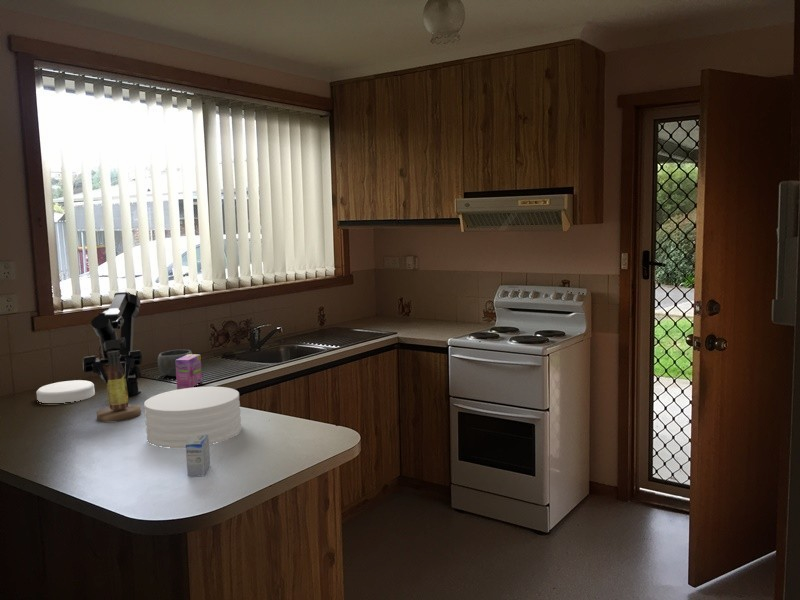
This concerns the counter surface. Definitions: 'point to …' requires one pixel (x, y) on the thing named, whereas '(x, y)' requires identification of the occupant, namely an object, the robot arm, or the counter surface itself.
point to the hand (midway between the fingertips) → (116, 381)
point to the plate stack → (192, 415)
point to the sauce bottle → (116, 382)
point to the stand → (119, 413)
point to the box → (188, 371)
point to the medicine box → (197, 455)
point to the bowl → (170, 361)
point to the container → (65, 391)
